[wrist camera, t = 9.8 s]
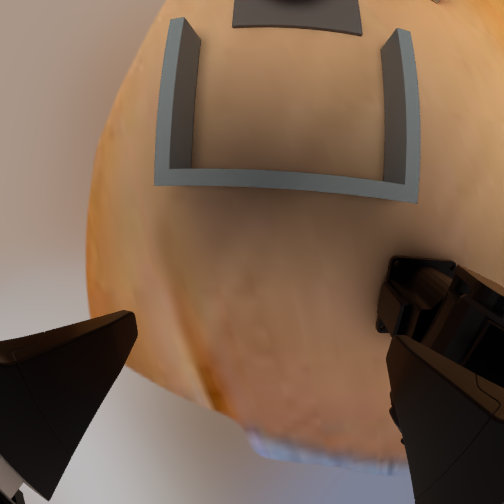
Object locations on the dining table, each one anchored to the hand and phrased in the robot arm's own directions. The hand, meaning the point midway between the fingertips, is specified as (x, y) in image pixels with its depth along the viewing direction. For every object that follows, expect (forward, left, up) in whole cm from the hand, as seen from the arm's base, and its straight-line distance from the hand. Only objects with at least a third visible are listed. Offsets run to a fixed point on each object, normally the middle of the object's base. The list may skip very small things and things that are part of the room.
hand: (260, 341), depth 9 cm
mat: (-1, -22, -12) cm, 25 cm away
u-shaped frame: (-1, -11, -12) cm, 16 cm away
